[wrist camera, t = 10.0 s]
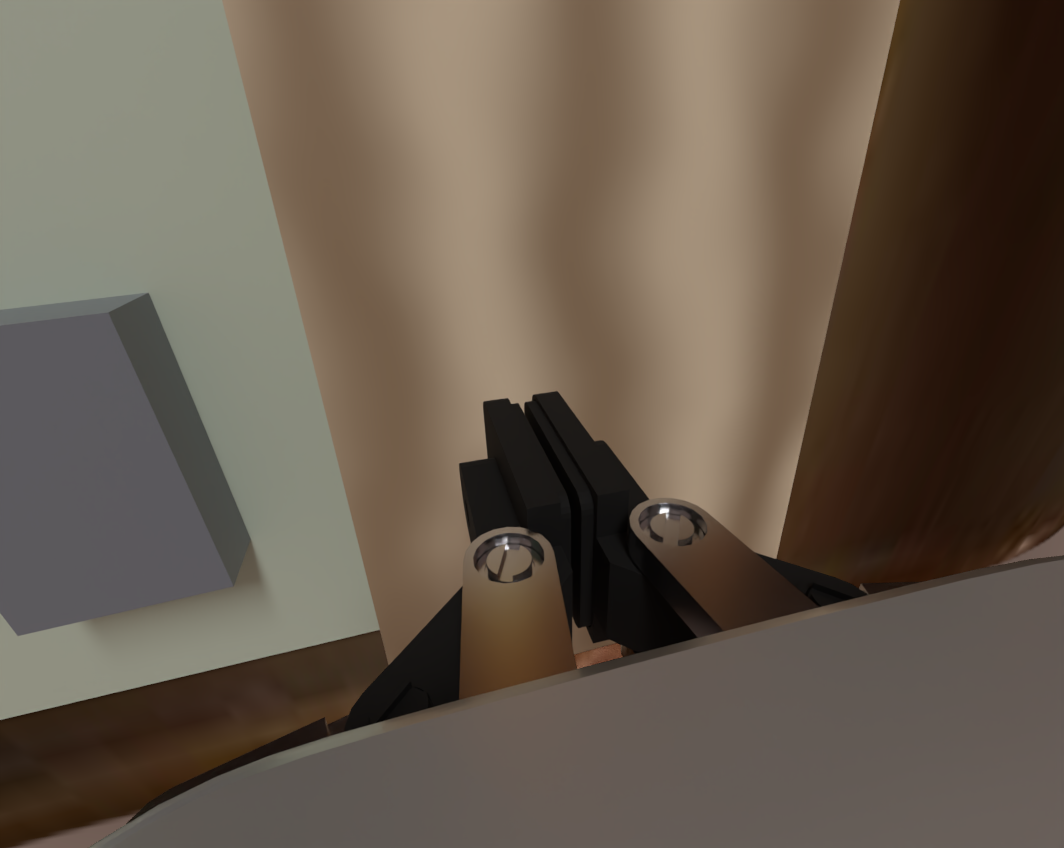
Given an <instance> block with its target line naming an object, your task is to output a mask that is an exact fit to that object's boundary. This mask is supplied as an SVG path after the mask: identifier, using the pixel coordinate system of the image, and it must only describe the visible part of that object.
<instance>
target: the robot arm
mask: <svg viewBox="0 0 1064 848" xmlns="http://www.w3.org/2000/svg"><path fill="white" fill-rule="evenodd" d="M483 413H484V424H485V435H486V446H487V457H488V459H482V460H475V461H469V462H463V463H459V472H460V480H461V488H462V496H463V503H464V510H465V516H466V522H467V527H468V532H469V537H470V542H471V544H470V546H469V547H468V549H467V550H466V552H465V556H464V560H463V586H462V587H461V588H460V589H459V590H458V591H457V592H456V593H455V595H454V596H453V597H452V598H451V599H450V600H449V601H448V602H447V603H446V604H445V605H444V606H443V607H442V609H441V610H440V611H439V612H438V613H437V614H436V615H435V616H434V617H433V618H432V619H431V620H430V621H429V623H428V624H427V625H426V626H425V627H424V628H423V629H422V630H421V631H420V632H419V633H418V634H417V635H416V637H415V638H414V639H413V640H412V641H411V642H410V643H409V644H408V645H407V646H406V647H405V648H404V649H403V651H402V652H401V653H400V654H399V655H398V656H397V657H396V658H395V659H394V660H393V661H392V662H391V663H390V665H389V666H388V667H387V668H386V669H385V670H384V671H383V672H382V673H381V674H380V675H379V676H378V677H377V679H376V680H375V681H374V682H373V683H372V684H371V685H370V686H369V687H368V688H367V689H366V690H365V691H364V693H363V694H362V695H361V696H360V698H359V699H358V701H357V702H356V703H355V705H354V706H353V707H352V709H351V711H350V714H349V715H347V716H345V717H343V718H341V719H339V720H337V721H334V722H332V723H330V724H328V725H327V722H326V720H325V717H324V718H322V719H320V720H318V721H315V722H313V723H311V724H309V725H307V726H305V727H302V728H300V729H298V730H296V731H294V732H292V733H290V734H287V735H285V736H283V737H281V738H279V739H277V740H274V741H272V742H270V743H268V744H266V745H264V746H261V747H259V748H257V749H255V750H253V751H251V752H248V753H246V754H244V755H242V756H240V757H238V758H235V759H233V760H231V761H229V762H227V763H225V764H222V765H220V766H218V767H216V768H214V769H212V770H209V771H207V772H205V773H203V774H201V775H199V776H196V777H194V778H192V779H190V780H188V781H186V782H184V783H181V784H179V785H177V786H175V787H173V788H171V789H169V790H168V791H166V792H164V793H163V794H161V795H160V796H158V797H156V798H155V799H153V800H151V801H150V802H148V803H147V804H146V805H145V806H144V807H143V808H142V809H141V810H140V811H139V812H138V813H137V814H136V815H135V816H134V817H133V818H132V819H131V820H130V821H129V822H128V823H127V824H126V825H125V826H123V827H121V828H120V829H118V830H116V831H115V832H113V833H111V834H110V835H108V836H106V837H105V838H103V839H102V840H100V841H98V842H96V843H95V844H93V845H92V846H91V847H89V848H1064V556H1056V557H1046V558H1037V559H1029V560H1024V561H1018V562H1013V563H1009V564H1003V565H998V566H992V567H987V568H981V569H977V570H972V571H968V572H964V573H959V574H955V575H950V576H946V577H942V578H937V579H933V580H929V581H924V582H895V583H861V585H860V587H859V588H857V587H855V586H854V585H852V584H850V583H847V582H845V581H842V580H840V579H838V578H835V577H832V576H828V575H825V574H822V573H819V572H816V571H813V570H809V569H806V568H803V567H800V566H797V565H793V564H790V563H787V562H784V561H781V560H778V559H774V558H771V557H768V556H765V555H762V554H758V553H755V552H754V551H752V550H751V549H750V548H749V547H748V546H746V545H745V544H744V543H743V542H742V541H741V540H739V539H738V538H737V537H736V536H735V535H733V534H732V533H731V532H730V531H729V530H728V529H726V528H725V527H724V526H723V525H722V524H721V523H719V522H718V521H717V520H716V519H715V518H713V517H712V516H711V515H710V514H709V513H708V512H706V511H705V510H703V509H702V508H700V507H699V506H697V505H695V504H692V503H690V502H687V501H684V500H679V499H674V498H656V499H651V500H650V499H649V498H648V497H647V495H646V494H645V493H644V491H643V490H642V489H641V488H640V486H639V485H638V484H637V482H636V481H635V480H634V478H633V477H632V476H631V475H630V473H629V472H628V471H627V469H626V468H625V467H624V465H623V464H622V463H621V461H620V460H619V459H618V458H617V456H616V455H615V454H614V452H613V451H612V450H611V448H610V447H609V446H608V444H607V443H606V442H605V441H603V440H599V441H594V440H593V439H592V437H591V436H590V435H589V433H588V432H587V430H586V429H585V428H584V426H583V425H582V424H581V422H580V421H579V419H578V418H577V417H576V415H575V414H574V413H573V411H572V410H571V409H570V407H569V406H568V404H567V403H566V402H565V400H564V399H563V398H562V396H561V395H560V393H559V392H558V391H555V392H547V393H540V394H534V395H533V396H532V401H529V402H525V403H524V412H523V410H522V409H521V407H520V405H519V403H515V404H511V402H510V400H509V399H508V398H504V399H497V400H490V401H484V402H483ZM572 617H573V620H574V622H575V624H576V626H577V627H578V628H582V627H586V628H587V631H588V633H589V635H590V638H591V640H592V642H593V643H598V642H602V641H606V640H611V641H614V642H616V643H618V644H620V645H621V654H622V656H623V657H622V658H618V659H614V660H610V661H606V662H603V663H599V664H595V665H591V666H587V667H583V668H580V669H577V667H576V662H575V656H574V651H573V646H572Z"/></svg>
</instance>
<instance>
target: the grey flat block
mask: <svg viewBox="0 0 1064 848" xmlns="http://www.w3.org/2000/svg"><path fill="white" fill-rule="evenodd" d="M250 540H251V538H250V536H249V533H248V531H247V529H246V526H245V524H244V521H243V519H242V517H241V514H240V512H239V509H238V507H237V505H236V502H235V500H234V497H233V495H232V492H231V490H230V488H229V485H228V483H227V480H226V478H225V476H224V473H223V471H222V468H221V466H220V464H219V461H218V459H217V456H216V454H215V451H214V449H213V447H212V444H211V442H210V439H209V437H208V435H207V432H206V430H205V427H204V425H203V423H202V420H201V418H200V415H199V413H198V410H197V408H196V406H195V403H194V401H193V398H192V396H191V394H190V391H189V389H188V386H187V384H186V382H185V379H184V377H183V374H182V372H181V369H180V367H179V365H178V362H177V360H176V357H175V355H174V353H173V350H172V348H171V345H170V343H169V341H168V338H167V336H166V333H165V331H164V328H163V326H162V324H161V321H160V319H159V316H158V314H157V312H156V309H155V307H154V304H153V302H152V299H151V297H150V295H149V293H140V294H132V295H123V296H115V297H106V298H97V299H89V300H80V301H72V302H63V303H55V304H46V305H38V306H29V307H20V308H12V309H3V310H0V614H1V615H2V616H3V617H4V619H5V620H6V621H7V623H8V624H9V625H10V627H11V628H12V629H13V631H14V632H15V633H16V634H17V636H21V635H25V634H29V633H34V632H38V631H42V630H47V629H51V628H55V627H60V626H64V625H69V624H73V623H77V622H82V621H86V620H90V619H95V618H99V617H103V616H108V615H112V614H116V613H121V612H125V611H129V610H134V609H138V608H142V607H147V606H151V605H156V604H160V603H164V602H169V601H173V600H177V599H182V598H186V597H190V596H195V595H199V594H203V593H208V592H212V591H216V590H221V589H225V588H229V587H234V585H235V582H236V579H237V576H238V573H239V571H240V568H241V565H242V562H243V559H244V557H245V554H246V551H247V548H248V545H249V542H250Z"/></svg>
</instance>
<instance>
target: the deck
mask: <svg viewBox="0 0 1064 848" xmlns="http://www.w3.org/2000/svg"><path fill="white" fill-rule="evenodd" d="M222 2H223V6H224V10H225V14H226V18H227V22H228V26H229V30H230V34H231V38H232V42H233V46H234V50H235V54H236V58H237V62H238V66H239V70H240V74H241V78H242V82H243V86H244V90H245V94H246V98H247V102H248V106H249V110H250V114H251V118H252V122H253V126H254V130H255V134H256V138H257V142H258V146H259V150H260V154H261V158H262V162H263V166H264V170H265V174H266V178H267V182H268V186H269V189H270V193H271V197H272V201H273V205H274V209H275V213H276V217H277V221H278V225H279V229H280V233H281V237H282V241H283V245H284V249H285V253H286V257H287V261H288V265H289V269H290V273H291V277H292V281H293V285H294V289H295V293H296V297H297V301H298V305H299V309H300V313H301V317H302V321H303V325H304V329H305V333H306V337H307V341H308V345H309V349H310V353H311V357H312V361H313V365H314V369H315V373H316V377H317V381H318V385H319V389H320V393H321V397H322V401H323V405H324V409H325V413H326V417H327V421H328V425H329V429H330V433H331V437H332V441H333V445H334V449H335V453H336V457H337V461H338V465H339V469H340V473H341V477H342V481H343V485H344V489H345V493H346V497H347V501H348V505H349V509H350V513H351V517H352V521H353V525H354V529H355V533H356V537H357V540H358V544H359V548H360V552H361V556H362V560H363V564H364V568H365V572H366V576H367V580H368V584H369V588H370V592H371V596H372V600H373V604H374V608H375V612H376V616H377V620H378V624H379V628H380V632H381V636H382V640H383V644H384V648H385V652H386V656H387V660H388V664H389V665H390V663H391V662H392V661H393V660H394V659H395V658H396V657H397V656H398V655H399V654H400V653H401V652H402V651H403V649H404V648H405V647H406V646H407V645H408V644H409V643H410V642H411V641H412V640H413V639H414V638H415V637H416V635H417V634H418V633H419V632H420V631H421V630H422V629H423V628H424V627H425V626H426V625H427V624H428V623H429V621H430V620H431V619H432V618H433V617H434V616H435V615H436V614H437V613H438V612H439V611H440V610H441V609H442V607H443V606H444V605H445V604H446V603H447V602H448V601H449V600H450V599H451V598H452V597H453V596H454V595H455V593H456V592H457V591H458V590H459V589H460V588H461V587H462V586H463V560H464V556H465V552H466V550H467V549H468V547H469V546H470V544H471V542H470V537H469V532H468V527H467V522H466V516H465V510H464V503H463V496H462V488H461V480H460V472H459V463H463V462H469V461H475V460H482V459H488V457H487V446H486V435H485V424H484V413H483V402H484V401H490V400H497V399H504V398H508V399H509V400H510V402H511V404H515V403H519V405H520V407H521V409H522V410H523V412H524V403H525V402H529V401H532V396H533V395H534V394H540V393H547V392H555V391H558V392H559V393H560V395H561V396H562V398H563V399H564V400H565V402H566V403H567V404H568V406H569V407H570V409H571V410H572V411H573V413H574V414H575V415H576V417H577V418H578V419H579V421H580V422H581V424H582V425H583V426H584V428H585V429H586V430H587V432H588V433H589V435H590V436H591V437H592V439H593V440H594V441H599V440H603V441H605V442H606V443H607V444H608V446H609V447H610V448H611V450H612V451H613V452H614V454H615V455H616V456H617V458H618V459H619V460H620V461H621V463H622V464H623V465H624V467H625V468H626V469H627V471H628V472H629V473H630V475H631V476H632V477H633V478H634V480H635V481H636V482H637V484H638V485H639V486H640V488H641V489H642V490H643V491H644V493H645V494H646V495H647V497H648V498H649V499H650V500H651V499H656V498H674V499H679V500H684V501H687V502H690V503H692V504H695V505H697V506H699V507H700V508H702V509H703V510H705V511H706V512H708V513H709V514H710V515H711V516H712V517H713V518H715V519H716V520H717V521H718V522H719V523H721V524H722V525H723V526H724V527H725V528H726V529H728V530H729V531H730V532H731V533H732V534H733V535H735V536H736V537H737V538H738V539H739V540H741V541H742V542H743V543H744V544H745V545H746V546H748V547H749V548H750V549H751V550H752V551H754V552H755V553H758V554H762V555H765V556H768V557H771V558H774V559H776V557H777V553H778V548H779V544H780V539H781V535H782V530H783V526H784V521H785V517H786V512H787V508H788V503H789V499H790V494H791V490H792V485H793V481H794V476H795V471H796V467H797V462H798V458H799V453H800V449H801V444H802V440H803V435H804V431H805V426H806V422H807V417H808V413H809V408H810V404H811V399H812V395H813V390H814V386H815V381H816V377H817V372H818V368H819V363H820V359H821V354H822V350H823V345H824V341H825V336H826V332H827V327H828V323H829V318H830V314H831V309H832V305H833V300H834V296H835V291H836V287H837V282H838V278H839V273H840V269H841V264H842V260H843V255H844V250H845V246H846V241H847V237H848V232H849V228H850V223H851V219H852V214H853V210H854V205H855V201H856V196H857V192H858V187H859V183H860V178H861V174H862V169H863V165H864V160H865V156H866V151H867V147H868V142H869V138H870V133H871V129H872V124H873V120H874V115H875V111H876V106H877V102H878V97H879V93H880V88H881V84H882V79H883V75H884V70H885V66H886V61H887V57H888V52H889V48H890V43H891V39H892V34H893V29H894V25H895V20H896V16H897V11H898V7H899V2H900V0H222ZM614 643H616V642H614V641H611V640H606V641H602V642H598V643H593V642H592V640H591V638H590V635H589V633H588V631H587V628H586V627H582V628H578V627H577V626H576V624H575V622H574V620H573V617H572V646H573V651H574V654H577V653H581V652H585V651H589V650H592V649H596V648H600V647H603V646H607V645H611V644H614Z"/></svg>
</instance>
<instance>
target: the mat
mask: <svg viewBox="0 0 1064 848" xmlns="http://www.w3.org/2000/svg"><path fill="white" fill-rule="evenodd" d="M140 293H149V295H150V297H151V299H152V302H153V304H154V307H155V309H156V312H157V314H158V316H159V319H160V321H161V324H162V326H163V328H164V331H165V333H166V336H167V338H168V341H169V343H170V345H171V348H172V350H173V353H174V355H175V357H176V360H177V362H178V365H179V367H180V369H181V372H182V374H183V377H184V379H185V382H186V384H187V386H188V389H189V391H190V394H191V396H192V398H193V401H194V403H195V406H196V408H197V410H198V413H199V415H200V418H201V420H202V423H203V425H204V427H205V430H206V432H207V435H208V437H209V439H210V442H211V444H212V447H213V449H214V451H215V454H216V456H217V459H218V461H219V464H220V466H221V468H222V471H223V473H224V476H225V478H226V480H227V483H228V485H229V488H230V490H231V492H232V495H233V497H234V500H235V502H236V505H237V507H238V509H239V512H240V514H241V517H242V519H243V521H244V524H245V526H246V529H247V531H248V533H249V536H250V538H251V540H250V542H249V545H248V548H247V551H246V554H245V557H244V559H243V562H242V565H241V568H240V571H239V573H238V576H237V579H236V582H235V585H234V587H229V588H225V589H221V590H216V591H212V592H208V593H203V594H199V595H195V596H190V597H186V598H182V599H177V600H173V601H169V602H164V603H160V604H156V605H151V606H147V607H142V608H138V609H134V610H129V611H125V612H121V613H116V614H112V615H108V616H103V617H99V618H95V619H90V620H86V621H82V622H77V623H73V624H69V625H64V626H60V627H55V628H51V629H47V630H42V631H38V632H34V633H29V634H25V635H21V636H17V634H16V633H15V632H14V631H13V629H12V628H11V627H10V625H9V624H8V623H7V621H6V620H5V619H4V617H3V616H2V615H1V614H0V720H2V719H6V718H10V717H15V716H19V715H23V714H27V713H31V712H36V711H40V710H44V709H48V708H52V707H57V706H61V705H65V704H69V703H73V702H78V701H82V700H86V699H90V698H95V697H99V696H103V695H107V694H111V693H116V692H120V691H124V690H128V689H132V688H137V687H141V686H145V685H149V684H153V683H158V682H162V681H166V680H170V679H174V678H179V677H183V676H187V675H191V674H196V673H200V672H204V671H208V670H212V669H217V668H221V667H225V666H229V665H233V664H238V663H242V662H246V661H250V660H254V659H259V658H263V657H267V656H271V655H276V654H280V653H284V652H288V651H292V650H297V649H301V648H305V647H309V646H313V645H318V644H322V643H326V642H330V641H334V640H339V639H343V638H347V637H351V636H355V635H360V634H364V633H368V632H372V631H377V630H380V628H379V624H378V620H377V616H376V612H375V608H374V604H373V600H372V596H371V592H370V588H369V584H368V580H367V576H366V572H365V568H364V564H363V560H362V556H361V552H360V548H359V544H358V540H357V537H356V533H355V529H354V525H353V521H352V517H351V513H350V509H349V505H348V501H347V497H346V493H345V489H344V485H343V481H342V477H341V473H340V469H339V465H338V461H337V457H336V453H335V449H334V445H333V441H332V437H331V433H330V429H329V425H328V421H327V417H326V413H325V409H324V405H323V401H322V397H321V393H320V389H319V385H318V381H317V377H316V373H315V369H314V365H313V361H312V357H311V353H310V349H309V345H308V341H307V337H306V333H305V329H304V325H303V321H302V317H301V313H300V309H299V305H298V301H297V297H296V293H295V289H294V285H293V281H292V277H291V273H290V269H289V265H288V261H287V257H286V253H285V249H284V245H283V241H282V237H281V233H280V229H279V225H278V221H277V217H276V213H275V209H274V205H273V201H272V197H271V193H270V189H269V186H268V182H267V178H266V174H265V170H264V166H263V162H262V158H261V154H260V150H259V146H258V142H257V138H256V134H255V130H254V126H253V122H252V118H251V114H250V110H249V106H248V102H247V98H246V94H245V90H244V86H243V82H242V78H241V74H240V70H239V66H238V62H237V58H236V54H235V50H234V46H233V42H232V38H231V34H230V30H229V26H228V22H227V18H226V14H225V10H224V6H223V2H222V0H0V310H3V309H12V308H20V307H29V306H38V305H46V304H55V303H63V302H72V301H80V300H89V299H97V298H106V297H115V296H123V295H132V294H140Z"/></svg>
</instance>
